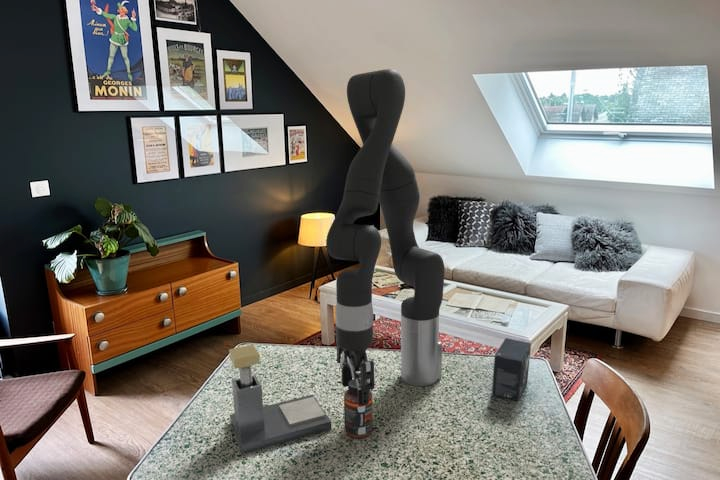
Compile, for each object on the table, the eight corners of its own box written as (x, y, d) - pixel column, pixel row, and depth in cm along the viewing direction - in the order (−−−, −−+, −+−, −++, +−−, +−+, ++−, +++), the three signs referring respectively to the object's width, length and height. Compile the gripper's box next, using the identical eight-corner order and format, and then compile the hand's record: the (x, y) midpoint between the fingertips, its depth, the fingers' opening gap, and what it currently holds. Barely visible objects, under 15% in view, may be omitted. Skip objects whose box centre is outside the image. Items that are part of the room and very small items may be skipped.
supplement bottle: (370, 441, 113) (369, 391, 110) (341, 438, 114) (340, 389, 111) (375, 424, 118) (374, 377, 115) (348, 421, 119) (346, 374, 117)
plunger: (257, 396, 117) (253, 344, 114) (263, 407, 113) (259, 354, 110) (233, 401, 115) (229, 349, 112) (238, 413, 111) (234, 359, 108)
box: (519, 402, 126) (521, 360, 123) (490, 395, 129) (492, 354, 126) (529, 381, 135) (531, 342, 132) (502, 375, 138) (504, 337, 135)
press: (312, 402, 127) (310, 355, 124) (331, 429, 117) (329, 378, 114) (230, 423, 120) (226, 373, 117) (242, 454, 109) (238, 400, 106)
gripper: (386, 332, 105) (386, 407, 109) (357, 307, 118) (357, 376, 122) (350, 338, 102) (351, 416, 106) (324, 312, 115) (326, 382, 119)
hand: (354, 394), depth 114 cm, fingers open, 8 cm apart
